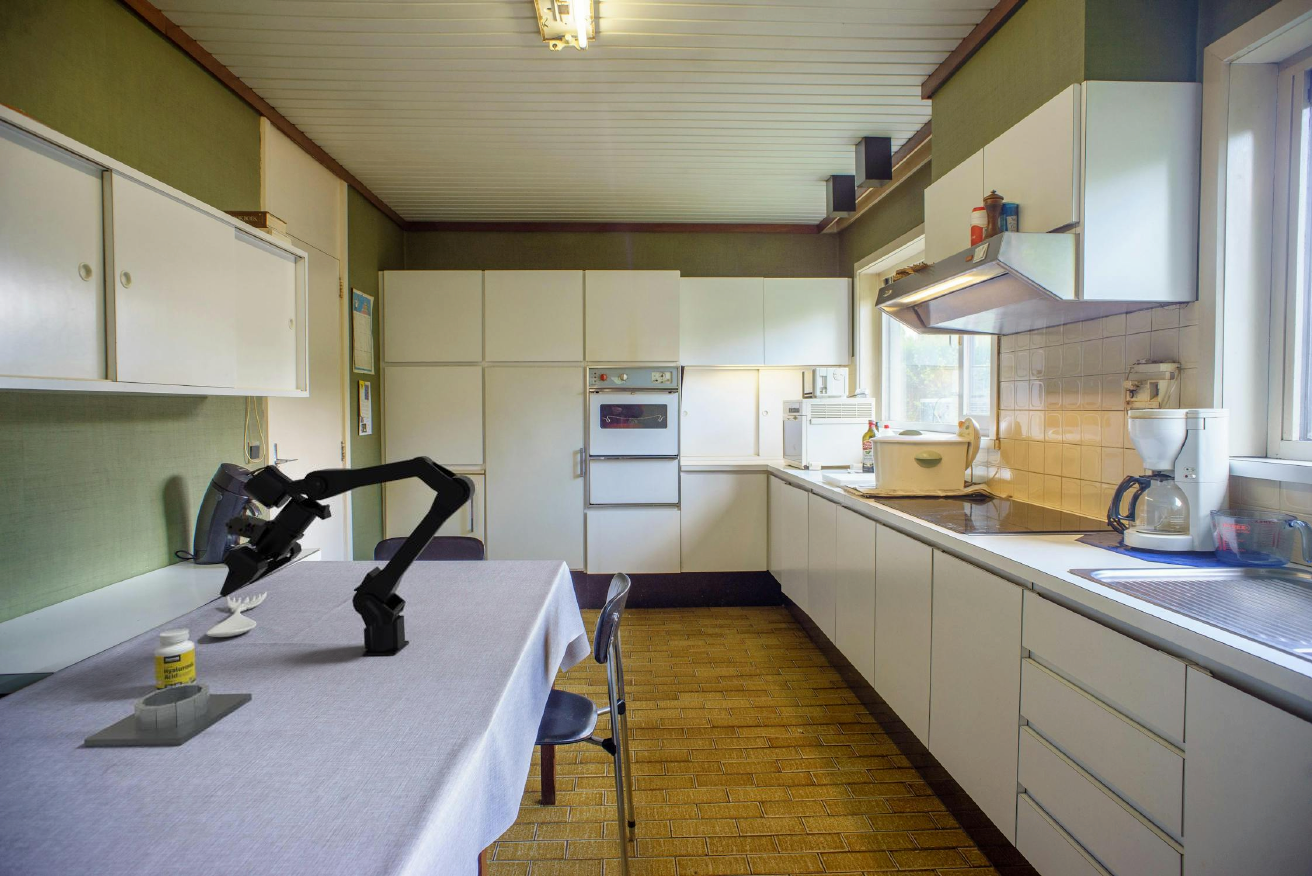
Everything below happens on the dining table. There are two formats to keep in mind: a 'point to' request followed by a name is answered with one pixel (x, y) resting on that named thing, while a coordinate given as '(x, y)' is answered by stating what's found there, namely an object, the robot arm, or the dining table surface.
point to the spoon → (236, 618)
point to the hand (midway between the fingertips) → (236, 588)
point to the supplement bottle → (174, 659)
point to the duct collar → (169, 717)
